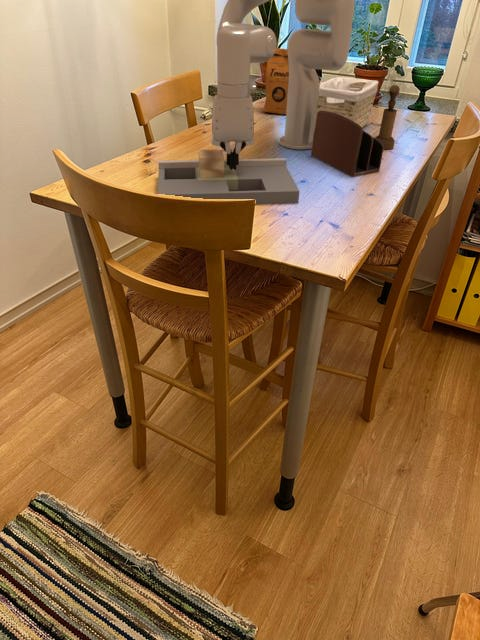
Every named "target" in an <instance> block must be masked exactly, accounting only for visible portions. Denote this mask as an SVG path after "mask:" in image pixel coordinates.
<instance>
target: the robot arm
mask: <svg viewBox="0 0 480 640" xmlns="http://www.w3.org/2000/svg"><path fill="white" fill-rule="evenodd" d="M267 2H271V0H227V1H226V4H225V6H224V9H223V12H222V14H221V18H220V21H219V24H218V28H217V33H216V63H217V64H216V70H217V71H216V73H217V75H216V77H217V86H216V87H217V94H215V95H214V97H213V102H212V114H211V135H212V137H211V145H212V146H215V147H220V148H221V150H222V151H223V152H225V153H226V159H227V165H229V168H230V170H232V169H234V170H236V165H239V159H240V157H239V156H240V153H241V152H242V151H243V149H244V148H245V147H248V146H253V145H254V144H255V140H254V139H255V138H254V136H255V120H254V119H255V116H254V114H255V113H254V103H253V102H254V101H253V97H252V96H253V95H251V93H252V92H256V90H257V89H256V88H257V87H256V84H251V81H250V80H251V79H250V78H251V64H264V63H267V61H268V60H270V59H271V58H272V57H273V55H274V53H275V51H276V48H277V45H278V41H277V40H278V39H277V37H276V34H275V32H274V30H272V29H271V28H270V27H268V26H266V25H259V24H251V23H242V22H243V21H244V19H245V18H246V17H247V15H248V14H250V13H251V12H252V11H253V10H254V9H256V8H257V7H259V6H261V5H263V4H265V3H267ZM354 11H355V0H295V16H296V19H297V20H298V21H299V22H300V23H303V24H309V25H320V26H327V27H328V26H329V27H330V30H322V29H310V28H301V29H298V30H296V31H294V32H292V33H291V35H290V37H289V39H288V43H287V49H288V61H289V84H288V96H287V109H286V115H285V123H284V124H285V125H284V135H283V136H281V137H279V142H278V143H279V145H280V146H282V147H284V148H287V149H291V150H300V151H301V150H312V145H313V138H314V130H315V125H316V117H317V108H318V99H319V91H320V79H319V75H318V74H317V71H316V70H321V71H322V70H324V71H330V72H332V71H333V72H334V71H335V72H336V71H341V70H342V69H343V68H344V67H345V65H346V63H347V60H348V57H349V51H350V44H351V36H352V30H353V29H352V28H353V21H354ZM231 142H235V143H234V148H233V150H232V148H231Z"/></svg>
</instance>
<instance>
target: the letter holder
mask: <svg viewBox="0 0 480 640" xmlns="http://www.w3.org/2000/svg"><path fill="white" fill-rule="evenodd" d="M383 153H384V147H383V144H382V143H381V142H380V141H379V140H377V139H375V137H374V136H372V135H371V134H370V133H368V132H367V131H365V130H364V129H363V128H362V127H361V126H360V125H358V124H357V123H355V122H353V121H352V120H350V119H348V118H346V117H344V116H341V115H339V114H336V113H332V112H327V111H319V112H318V113H317V118H316V125H315V130H314V138H313V145H312V149H311V152H310V156H311V157H313V158H315V159H317V160H319V161H320V162H322V163H324V164H327V165H329V166H330V167H332V168H334V169H335V170H338V171H340V172H342V173H344V174H345V175H347V176H350V177H351V178H355V177H356V178H357V177H360V176H366V175H370V174H371V175H372V174H375V173H379V172H380V169H381V164H382V158H383Z"/></svg>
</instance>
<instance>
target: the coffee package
mask: <svg viewBox="0 0 480 640" xmlns="http://www.w3.org/2000/svg"><path fill="white" fill-rule="evenodd" d="M288 84H289V61H288V48H280V47H279V48H277V47H276V51H275V53H274V55H273V57H272V58H271V59H270V60H268V61H267V62H266V72H265V102H264V105H263V107H264V108H263V111H264V112H265V113H270V114H275V115H276V114H278V115H283V116H286V109H287V96H288Z"/></svg>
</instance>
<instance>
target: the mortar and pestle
mask: <svg viewBox="0 0 480 640" xmlns="http://www.w3.org/2000/svg"><path fill="white" fill-rule="evenodd" d="M400 89H401V88H400V86H399V85H397V84H394V85H391V86H390V87H389V89H388V94H389V96H390V97H389V100H388V103H387V104H388V105H387V107H388V108H384V109H383V111H382V112H383V113H382V119H381V123H380V128H379V132H378V135H376V136H375V137H374V138H375V139H377V140H379V141H380V142H381V143H382V144H383V147H384V149H383V151H384V150H386V151H387V150H393V149H394V146H395V143H396V140H395V139H394V137H392V135H393V131H394V130H393V129H394V126H395V121H396V116H397V109H395V107H396V104H397V101H396V98H397V96H398V95H399V93H400Z"/></svg>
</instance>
